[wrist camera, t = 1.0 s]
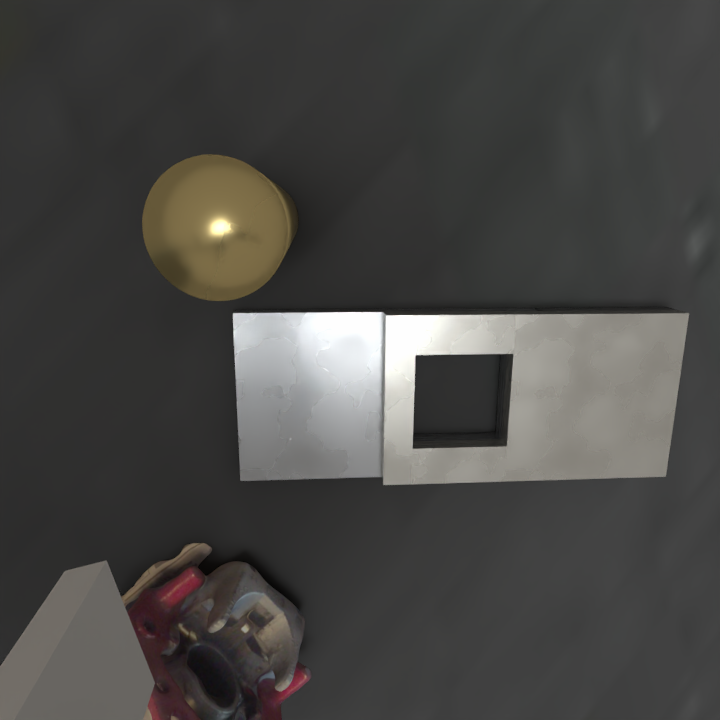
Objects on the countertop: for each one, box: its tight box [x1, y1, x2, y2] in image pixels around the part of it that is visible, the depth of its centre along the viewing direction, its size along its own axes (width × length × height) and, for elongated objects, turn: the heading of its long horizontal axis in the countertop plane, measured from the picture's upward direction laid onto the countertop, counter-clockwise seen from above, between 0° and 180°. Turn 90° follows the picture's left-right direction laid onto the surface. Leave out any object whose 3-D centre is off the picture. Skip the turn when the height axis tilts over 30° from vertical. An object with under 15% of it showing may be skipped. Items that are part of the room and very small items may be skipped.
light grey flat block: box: [381, 307, 689, 485], centre depth 32 cm, size 16×9×2 cm, turn 90°
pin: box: [142, 155, 299, 301], centre depth 22 cm, size 4×4×15 cm
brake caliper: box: [121, 543, 311, 720], centre depth 31 cm, size 11×11×12 cm
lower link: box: [233, 308, 537, 481], centre depth 32 cm, size 16×9×1 cm, turn 90°
